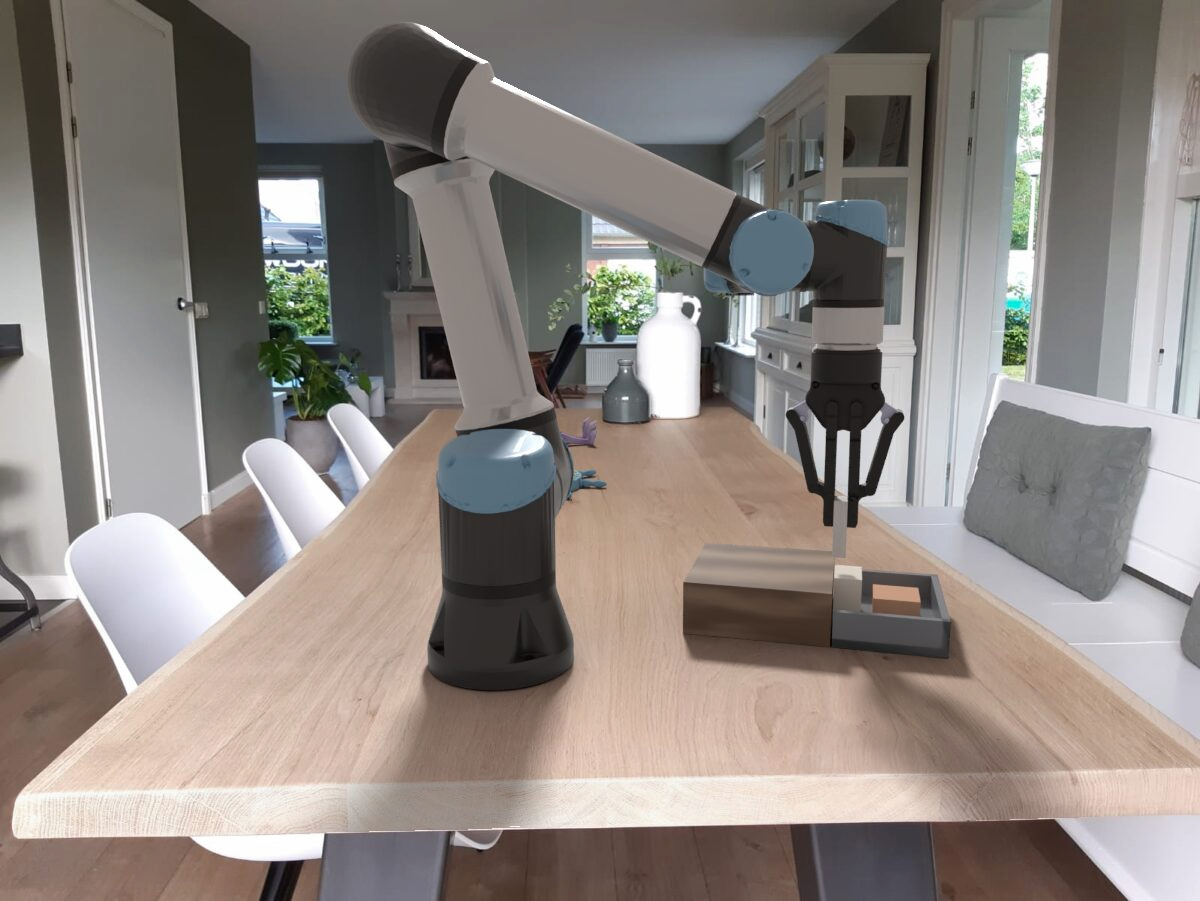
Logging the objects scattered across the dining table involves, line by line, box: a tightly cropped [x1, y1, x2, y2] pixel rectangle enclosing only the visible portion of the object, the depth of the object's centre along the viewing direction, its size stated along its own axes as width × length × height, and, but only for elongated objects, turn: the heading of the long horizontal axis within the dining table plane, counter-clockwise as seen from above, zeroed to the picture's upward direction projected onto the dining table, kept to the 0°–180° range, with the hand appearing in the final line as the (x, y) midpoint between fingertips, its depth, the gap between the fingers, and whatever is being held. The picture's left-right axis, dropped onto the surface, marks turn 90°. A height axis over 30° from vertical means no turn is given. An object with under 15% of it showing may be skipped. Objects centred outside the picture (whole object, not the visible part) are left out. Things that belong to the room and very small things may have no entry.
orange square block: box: [872, 584, 921, 617], centre depth 104 cm, size 5×5×3 cm
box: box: [831, 568, 952, 659], centre depth 104 cm, size 16×12×4 cm
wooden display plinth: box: [682, 542, 836, 648], centre depth 108 cm, size 16×16×6 cm
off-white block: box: [832, 564, 863, 612], centre depth 105 cm, size 5×5×3 cm
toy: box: [560, 416, 598, 446], centre depth 219 cm, size 26×9×30 cm
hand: (839, 553), depth 105 cm, fingers closed
